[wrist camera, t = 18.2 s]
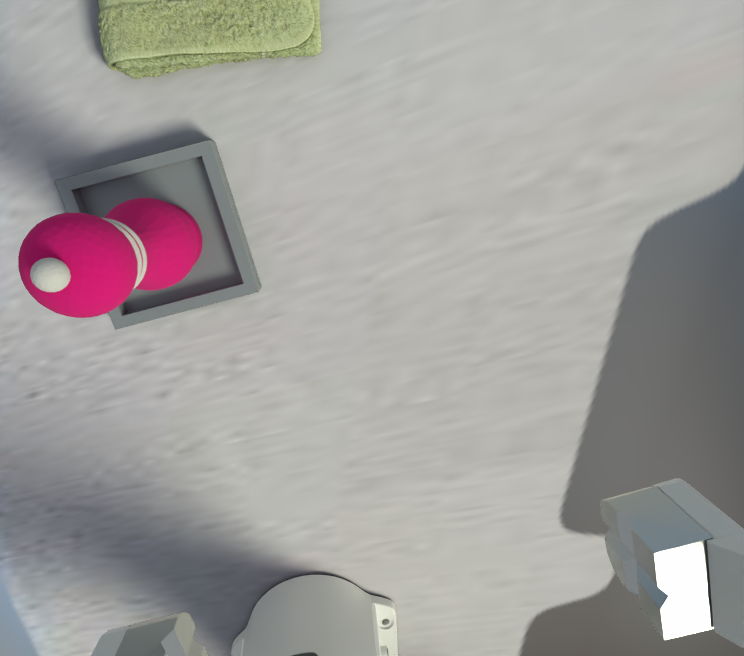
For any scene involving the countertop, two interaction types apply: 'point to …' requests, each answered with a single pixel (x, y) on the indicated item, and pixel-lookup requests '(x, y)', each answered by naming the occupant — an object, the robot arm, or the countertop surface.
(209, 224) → the slate tray
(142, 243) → the pepper mill
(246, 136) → the countertop surface
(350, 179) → the countertop surface
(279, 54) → the washcloth
